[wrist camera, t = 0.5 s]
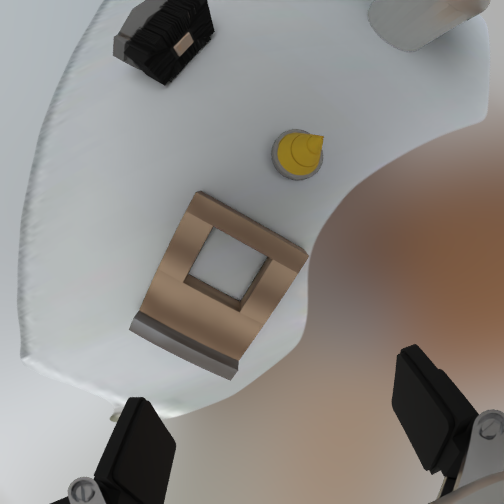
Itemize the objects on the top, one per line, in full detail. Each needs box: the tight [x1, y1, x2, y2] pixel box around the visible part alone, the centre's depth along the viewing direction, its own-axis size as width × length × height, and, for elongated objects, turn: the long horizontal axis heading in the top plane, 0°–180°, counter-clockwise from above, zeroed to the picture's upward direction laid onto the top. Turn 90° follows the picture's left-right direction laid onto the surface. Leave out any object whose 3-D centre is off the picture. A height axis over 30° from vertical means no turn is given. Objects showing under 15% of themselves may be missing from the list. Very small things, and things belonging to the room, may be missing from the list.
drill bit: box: [271, 129, 324, 180], centre depth 26 cm, size 5×5×10 cm
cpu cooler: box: [113, 0, 215, 85], centre depth 22 cm, size 10×6×10 cm, turn 142°
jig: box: [129, 191, 309, 380], centre depth 32 cm, size 18×14×5 cm
